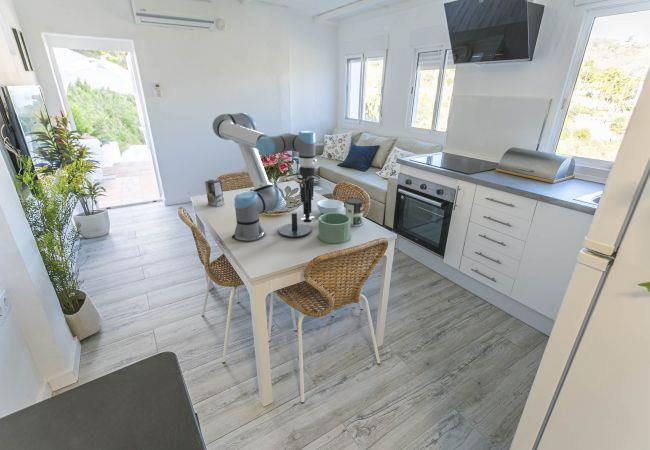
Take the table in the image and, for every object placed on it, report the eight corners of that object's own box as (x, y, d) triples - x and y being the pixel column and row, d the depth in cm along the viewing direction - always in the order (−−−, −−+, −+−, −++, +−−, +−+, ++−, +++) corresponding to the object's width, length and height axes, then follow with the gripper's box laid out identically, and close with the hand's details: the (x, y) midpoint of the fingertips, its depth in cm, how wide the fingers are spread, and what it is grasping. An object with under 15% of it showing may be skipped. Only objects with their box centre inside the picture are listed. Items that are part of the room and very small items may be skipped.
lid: (284, 240, 163) (284, 220, 159) (274, 228, 178) (273, 209, 174) (315, 234, 170) (315, 215, 166) (303, 223, 185) (303, 205, 181)
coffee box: (224, 204, 214) (221, 181, 208) (217, 206, 209) (213, 183, 203) (215, 201, 219) (212, 179, 212) (207, 204, 214) (204, 181, 207)
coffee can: (362, 220, 190) (364, 198, 184) (361, 227, 181) (362, 204, 175) (346, 219, 192) (346, 197, 186) (343, 225, 182) (344, 202, 177)
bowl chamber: (327, 245, 158) (327, 226, 154) (313, 233, 172) (313, 215, 168) (355, 239, 165) (356, 221, 161) (340, 228, 179) (341, 211, 175)
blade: (303, 224, 152) (303, 199, 146) (298, 219, 157) (297, 194, 152) (316, 222, 154) (317, 197, 149) (311, 217, 160) (311, 193, 155)
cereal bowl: (342, 219, 191) (342, 208, 188) (315, 217, 193) (315, 206, 190) (344, 209, 206) (345, 199, 204) (319, 208, 209) (319, 198, 206)
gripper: (308, 170, 137) (308, 220, 146) (320, 163, 150) (319, 209, 160) (292, 169, 139) (293, 217, 149) (305, 162, 152) (306, 207, 162)
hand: (307, 213), depth 154 cm, fingers closed on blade, 2 cm apart
